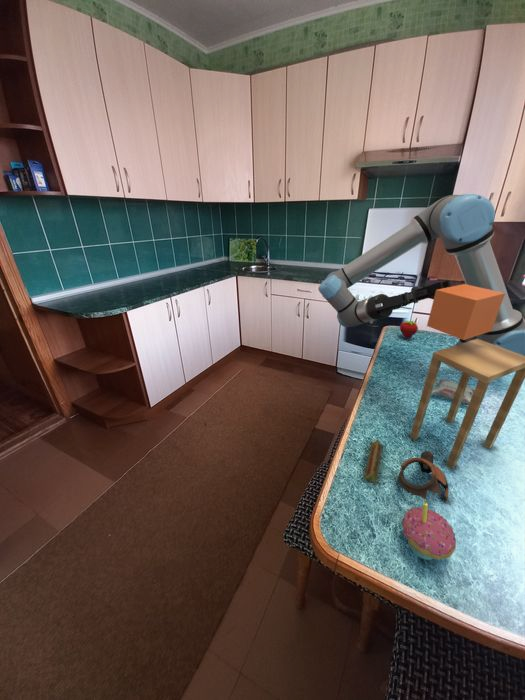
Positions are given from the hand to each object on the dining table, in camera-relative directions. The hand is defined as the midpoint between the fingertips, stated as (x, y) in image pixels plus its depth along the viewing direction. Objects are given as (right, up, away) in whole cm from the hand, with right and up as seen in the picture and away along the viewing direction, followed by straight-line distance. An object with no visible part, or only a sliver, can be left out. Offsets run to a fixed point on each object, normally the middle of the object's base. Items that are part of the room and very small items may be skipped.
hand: (445, 286), depth 69 cm
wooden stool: (+6, -39, +8) cm, 41 cm away
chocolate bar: (-16, -43, +2) cm, 46 cm away
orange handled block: (0, -8, +4) cm, 9 cm away
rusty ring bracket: (-8, -46, -4) cm, 47 cm away
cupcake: (-14, -52, -15) cm, 56 cm away
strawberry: (+23, -10, +64) cm, 69 cm away
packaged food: (+17, -31, +24) cm, 43 cm away
